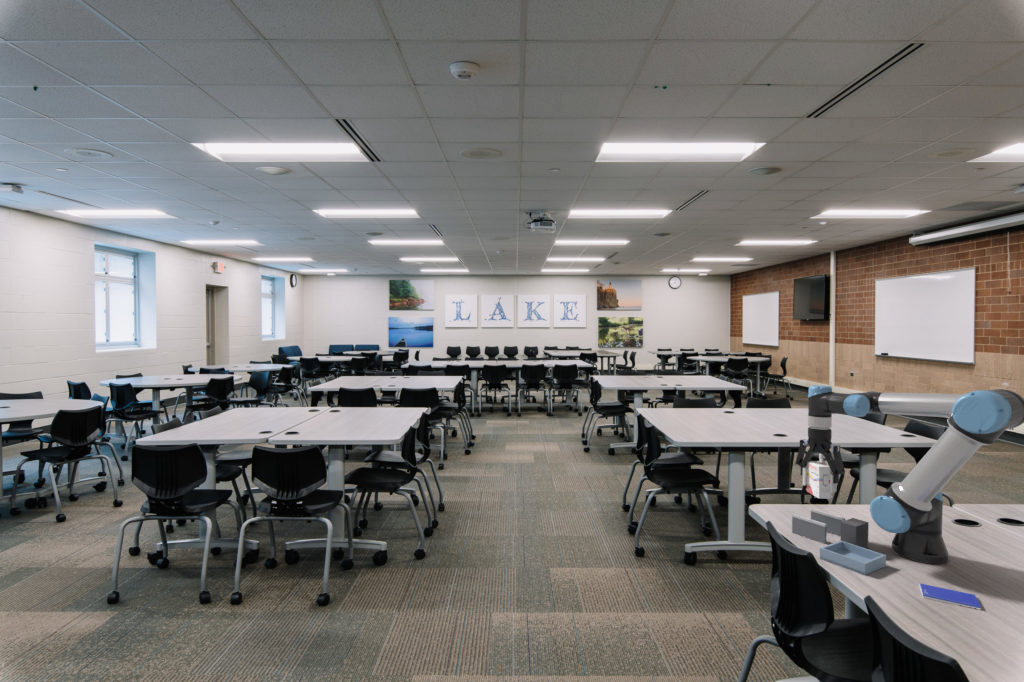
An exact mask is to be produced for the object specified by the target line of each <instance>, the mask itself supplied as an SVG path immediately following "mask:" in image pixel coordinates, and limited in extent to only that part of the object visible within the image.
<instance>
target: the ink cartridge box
mask: <svg viewBox="0 0 1024 682" xmlns="http://www.w3.org/2000/svg"><path fill="white" fill-rule="evenodd" d="M818 459H819V460H810V461H808V462H807V466H806V467H807V485H806V492H807V493H809V494H811V495H812V496H814V497H815V498H817V499H823V500H824V499H826V500H827V499H829V500H830V499H833V493H832V492H830V474H832V471H831V469H830V467H829V465H828V463H827V461H826V459H825V457H824V456H823V454H820V453H818ZM830 459H831V458H830Z"/></svg>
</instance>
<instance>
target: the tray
mask: <svg viewBox="0 0 1024 682" xmlns="http://www.w3.org/2000/svg"><path fill="white" fill-rule="evenodd" d="M819 559H820V560H822V561H826V562H828V563H831V564H833V565H835V566H836V565H837V566H838V565H839V567H841V566H842V567H841V568H844V569H847V570H849V569H850V570H849V571H852V572H855V573H857V572H858V573H857V574H860V573H861V575H863V576H866V575H870V573H871V574H872V573H873V571H874V572H877V570H880V568H881V569H882V567H883V568H885V567H887V555H886V554H883V553H880V552H877V551H874V550H871V549H869V548H867V549H866V548H863V547H860V546H857V545H853V544H850V543H847V542H844V541H840V540H839V541H835V542H833V543H830V544H827V545H825V546H822V547H819ZM884 566H885V567H884Z"/></svg>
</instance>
